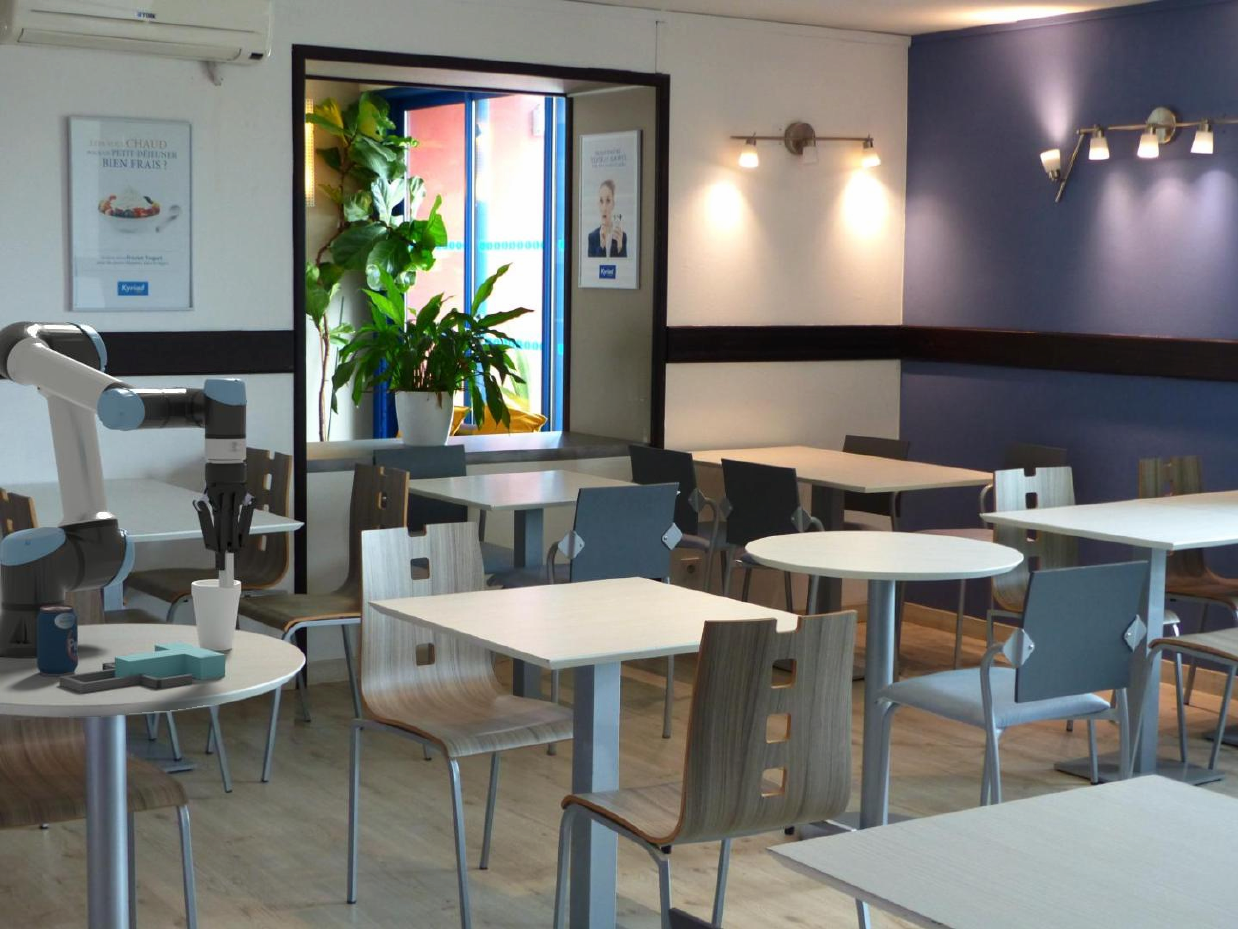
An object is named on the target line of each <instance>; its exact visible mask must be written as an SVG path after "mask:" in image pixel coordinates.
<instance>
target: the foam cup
mask: <svg viewBox="0 0 1238 929" xmlns="http://www.w3.org/2000/svg"><path fill="white" fill-rule="evenodd" d="M241 594H242V582H241V581H240V580H235V579H234V588H222V587H219V578H217V579H215V578H214V579H202V580H195V581H193V582H192V583H191V596H192V600H193V601H192V602H193V608H194V610H193V611H194V616H195V623H196V631H197V632H196V633H197V639H198V645H199V648H203V649H207V650H210V651H214V652H218V651H220V652H221V651H226V650H231V649H233V646H234V640H235V632H236V625H237V619H238V617H237V616H238V609H239V603H240V596H241Z"/></svg>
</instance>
